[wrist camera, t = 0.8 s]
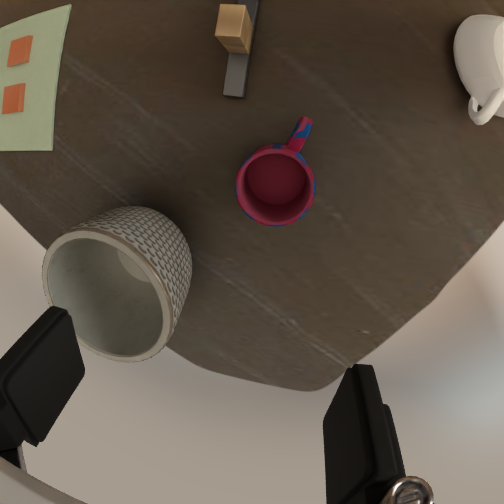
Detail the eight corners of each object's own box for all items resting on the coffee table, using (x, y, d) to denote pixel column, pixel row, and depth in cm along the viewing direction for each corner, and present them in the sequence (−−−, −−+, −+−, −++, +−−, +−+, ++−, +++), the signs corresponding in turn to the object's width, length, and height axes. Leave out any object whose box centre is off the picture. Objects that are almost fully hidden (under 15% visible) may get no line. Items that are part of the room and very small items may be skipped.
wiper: (241, -5, 25) (229, -39, 17) (260, -3, 25) (253, -38, 17) (225, 96, 29) (206, 88, 22) (244, 98, 29) (231, 90, 22)
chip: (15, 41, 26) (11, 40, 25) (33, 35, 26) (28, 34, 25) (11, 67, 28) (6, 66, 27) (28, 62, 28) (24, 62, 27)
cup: (232, 185, 33) (220, 200, 27) (283, 104, 29) (283, 99, 23) (286, 217, 34) (286, 240, 28) (338, 140, 30) (352, 145, 24)
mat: (-2, 29, 25) (-4, 29, 25) (72, 4, 25) (70, 4, 24) (-14, 151, 33) (-16, 151, 33) (53, 150, 33) (51, 150, 33)
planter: (171, 315, 41) (135, 384, 29) (88, 254, 38) (30, 304, 26) (230, 238, 35) (204, 299, 24) (132, 167, 33) (64, 194, 21)
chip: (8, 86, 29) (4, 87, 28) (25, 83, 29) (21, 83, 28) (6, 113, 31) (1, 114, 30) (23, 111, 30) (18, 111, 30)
